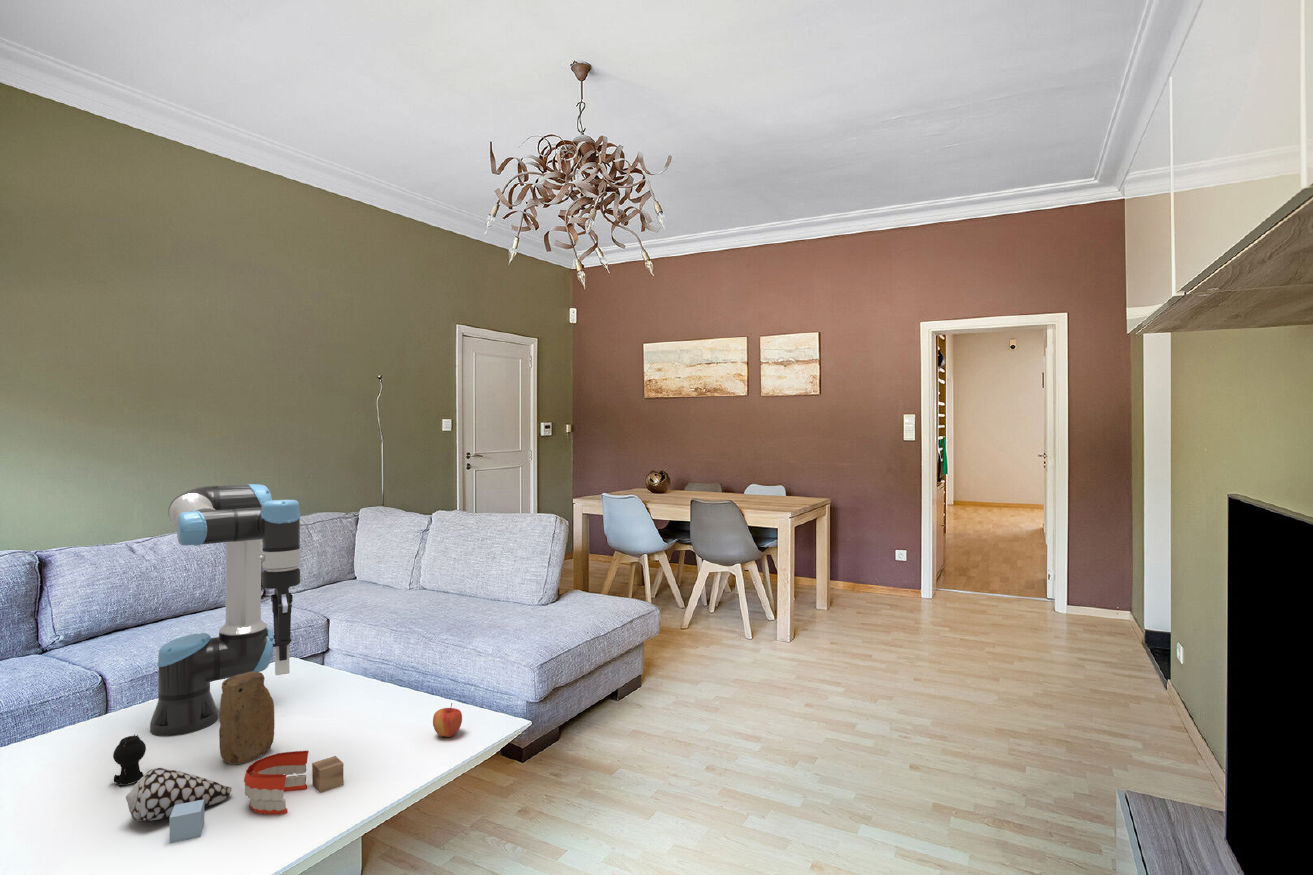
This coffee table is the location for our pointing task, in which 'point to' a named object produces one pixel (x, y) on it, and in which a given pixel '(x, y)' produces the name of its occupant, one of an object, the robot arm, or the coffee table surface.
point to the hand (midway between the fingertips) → (282, 673)
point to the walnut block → (327, 774)
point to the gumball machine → (129, 759)
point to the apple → (447, 721)
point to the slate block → (187, 821)
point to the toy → (275, 781)
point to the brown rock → (245, 718)
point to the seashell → (170, 793)
